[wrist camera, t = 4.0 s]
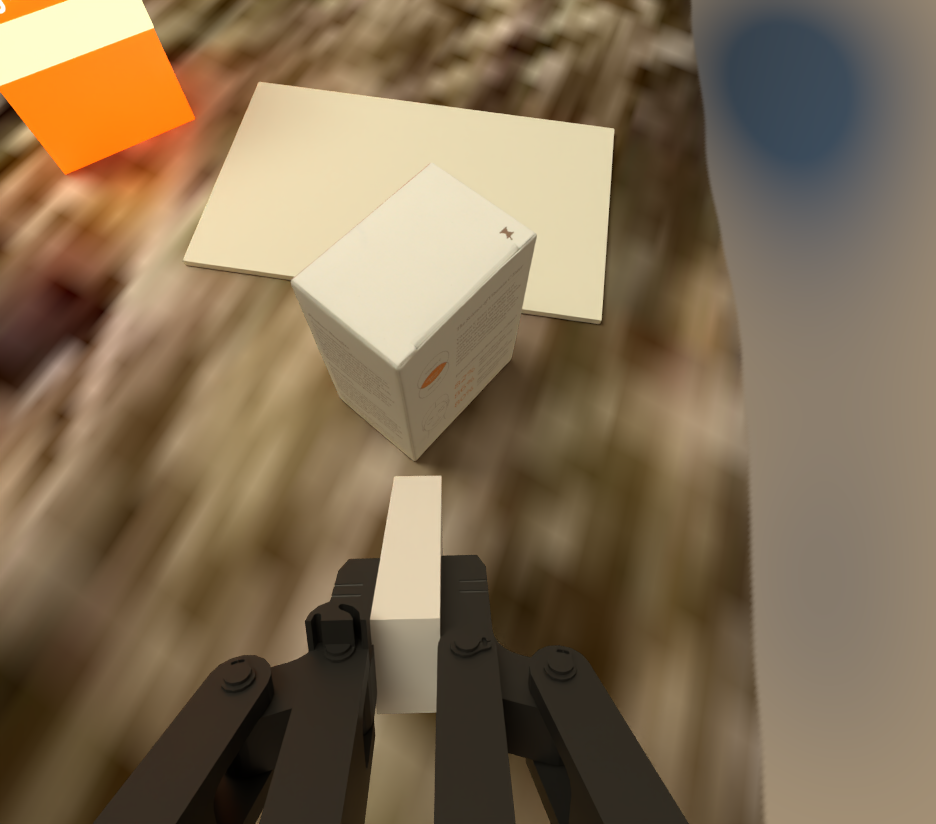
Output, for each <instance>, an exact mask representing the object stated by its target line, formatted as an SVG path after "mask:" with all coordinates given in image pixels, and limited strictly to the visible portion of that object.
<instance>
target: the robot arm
mask: <svg viewBox="0 0 936 824" xmlns="http://www.w3.org/2000/svg"><path fill="white" fill-rule="evenodd" d="M305 626H306V634H307V642H308V649H309V652H308V653H307V654H306V655H304V656H302V657H300V658H299V659H297V660H294V661H291V662H288V663H285V664H281V665H278V666H274V667H270V665H269V663H268V662H267V661H266V660H265V659H264V658H261V657H258V656H255V655H243V656H239V657H235V658H232V659H230V660H228V661H226V662H224V663H222V664H220V665H219V666H218V667H217V668H216V669H215V670H214V671H213V672H211V673H210V675H209V676H208V677H207V678H206V680H205V681H204V682H203V684H202V685H201V686H200V687H199V689H198V690H197V691H196V692H195V694H194V695H193V696H192V698H191V699H190V700H189V701H188V703H187V704H186V705H185V706H184V708H183V709H182V710H181V712H180V713H179V714H178V715H177V717H176V718H175V719H174V720H173V722H172V723H171V724H170V726H169V727H168V728H167V729H166V731H165V732H164V733H163V735H162V736H161V737H160V738H159V740H158V741H157V742H156V743H155V745H154V746H153V747H152V749H151V750H150V751H149V752H148V754H147V755H146V756H145V757H144V759H143V760H142V761H141V763H140V764H139V765H138V766H137V768H136V769H135V770H134V772H133V773H132V774H131V775H130V777H129V778H128V779H127V780H126V782H125V783H124V784H123V786H122V787H121V788H120V789H119V791H118V792H117V793H116V794H115V796H114V797H113V798H112V800H111V801H110V802H109V803H108V805H107V806H106V807H105V809H104V810H103V811H102V812H101V814H100V815H99V816H98V817H97V819H96V820H95V821H94V823H93V824H255V823H256V821H257V819H258V817H259V815H260V813H261V812H262V810H263V812H262V815H261V819H260V822H259V824H364V823H365V815H366V807H367V798H368V790H369V782H370V774H371V766H372V758H373V749H374V741H375V726H374V715H375V707H376V708H377V714H400V713H433V712H436V750H435V802H434V824H516V823H515V814H514V804H513V795H512V786H511V777H510V767H509V758H508V753H511V754H514V755H518V756H521V757H524V758H526V763H527V766H528V768H529V771H530V773H531V776H532V778H533V781H534V783H535V786H536V788H537V790H538V793H539V795H540V798H541V800H542V803H543V805H544V808H545V810H546V813H547V815H548V818H549V820H550V823H551V824H689V823H688V822H687V820H686V819H685V817H684V815H683V814H682V812H681V810H680V809H679V807H678V806H677V804H676V802H675V801H674V799H673V798H672V796H671V794H670V793H669V791H668V789H667V788H666V786H665V785H664V783H663V781H662V780H661V778H660V777H659V775H658V773H657V772H656V770H655V768H654V767H653V765H652V764H651V762H650V760H649V759H648V757H647V756H646V754H645V752H644V751H643V749H642V747H641V746H640V744H639V743H638V741H637V739H636V738H635V736H634V735H633V733H632V731H631V730H630V728H629V726H628V725H627V723H626V722H625V720H624V718H623V717H622V715H621V714H620V712H619V710H618V709H617V707H616V705H615V704H614V702H613V701H612V699H611V697H610V696H609V694H608V693H607V691H606V689H605V688H604V686H603V684H602V683H601V681H600V680H599V678H598V676H597V675H596V673H595V672H594V670H593V668H592V667H591V665H590V664H589V662H588V661H587V660H586V659H585V657H584V656H583V655H582V654H581V653H579V652H577V651H575V650H574V649H572V648H569V647H564V646H560V645H558V646H547V647H544V648H542V649H539V650H538V651H537V652H536V653H535V654H534V655H533V656H532V658H531V657H527V656H523V655H519V654H516V653H513V652H510V651H509V650H507V649H505V648H504V647H503V646H501V645H500V644H499V643H498V642H497V640H496V639H495V637H494V634H493V631H492V622H491V613H490V604H489V594H488V585H487V575H486V566H485V565H484V564H483V562H482V561H481V560H480V558H479V557H478V556H477V555H455V556H443V542H442V484H441V476H394V482H393V488H392V493H391V499H390V505H389V511H388V517H387V523H386V529H385V534H384V540H383V546H382V552H381V558H372V559H349V560H348V561H347V562H346V563H345V564H344V565H343V566H342V567H341V569H340V570H339V571H338V574H337V578H336V582H335V587H334V589H333V593H332V597H331V600H330V602H328V603H325V604H323V605H320V606H318V607H317V608H316V609H314V610H313V611H312V612H311V613H310V614H309V615H308V617H307V619H306V620H305Z"/></svg>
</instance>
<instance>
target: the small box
mask: <svg viewBox="0 0 936 824" xmlns="http://www.w3.org/2000/svg"><path fill="white" fill-rule="evenodd" d="M536 239H537V235H536V233H535V232H533V231H532V230H531V229H529V228H528V227H526V226H525V225H523V224H522V223H520V222H519V221H518V220H516V219H515V218H513V217H512V216H510V215H509V214H507V213H506V212H505V211H503V210H502V209H500V208H499V207H497V206H496V205H494V204H493V203H491V202H490V201H488V200H487V199H485V198H484V197H483V196H481V195H480V194H478V193H477V192H475V191H474V190H472V189H471V188H469V187H468V186H466V185H465V184H464V183H462V182H461V181H459V180H458V179H456V178H455V177H453V176H452V175H450V174H449V173H447V172H446V171H444V170H443V169H441V168H439V167H438V166H436V165H435V164H434V163H429V164H428V165H427V166H426V167H425V168H424V169H423V170H421V171H420V172H419V173H418V174H417V175H415V176H414V177H413V178H412V179H411V180H409V181H408V182H407V183H406V184H405V185H403V186H402V187H401V188H400V189H399V190H398V191H396V192H395V193H394V194H393V195H392V196H391V197H389V198H388V199H387V200H386V201H385V202H383V203H382V204H381V205H380V206H379V207H377V208H376V209H375V210H374V211H373V212H372V213H370V214H369V215H368V216H367V217H366V218H364V219H363V220H362V221H361V222H360V223H358V224H357V225H356V226H355V227H354V228H352V229H351V230H350V231H349V232H348V233H347V234H345V235H344V236H343V237H342V238H341V239H339V240H338V241H337V242H336V243H335V244H333V245H332V246H331V247H330V248H329V249H327V250H326V251H325V252H324V253H323V254H321V255H320V256H319V257H318V258H317V259H315V260H314V261H313V262H312V263H311V264H309V265H308V266H307V267H306V268H305V269H303V270H302V271H301V272H300V273H299V274H297V275H296V276H295V277H293V278H292V279H291V285H292V287H293V290H294V292H295V295H296V297H297V299H298V301H299V304H300V306H301V309H302V311H303V313H304V315H305V318H306V320H307V322H308V325H309V327H310V329H311V331H312V334H313V336H314V339H315V341H316V344H317V346H318V349H319V351H320V353H321V355H322V358H323V360H324V362H325V365H326V367H327V369H328V372H329V374H330V376H331V379H332V381H333V383H334V386H335V388H336V390H337V392H338V395H339V397H340V398H341V399H342V400H343V401H344V402H345V403H346V404H347V405H349V406H350V407H351V408H352V409H353V410H354V411H355V412H356V413H358V414H359V415H360V416H361V417H362V418H363V419H365V420H366V421H367V422H368V423H369V424H370V425H372V426H373V427H374V428H375V429H376V430H378V431H379V432H380V433H381V434H382V435H383V436H385V437H386V438H387V439H388V440H389V441H390V442H392V443H393V444H394V445H395V446H396V447H397V448H399V449H400V450H401V451H402V452H403V453H405V454H406V455H407V456H408V457H410V458H411V459H412V460H413V461H416V460H417V459H418V458H419V457H420V456H421V455H422V454H423V453H424V452H425V451H426V450H427V448H428V447H429V446H430V445H431V444H432V443H433V442H434V441H435V440H436V439H437V438H438V437H439V436H440V434H441V433H442V432H443V431H444V430H445V429H446V428H447V427H448V426H449V425H450V424H451V423H452V422H453V421H454V420H455V419H456V417H457V416H458V415H459V414H460V413H461V412H462V411H463V410H464V409H465V408H466V407H467V406H468V405H469V404H470V403H471V402H472V400H473V399H474V398H475V397H476V396H477V395H478V394H479V393H480V392H481V391H482V390H483V389H484V388H485V386H486V385H487V384H488V383H489V382H490V381H491V380H492V379H493V378H494V377H495V376H496V375H497V374H498V373H499V372H500V370H501V369H502V368H503V367H504V366H505V365H506V364H507V363H508V362H509V361H510V360H511V359H512V355H513V350H514V345H515V341H516V336H517V331H518V326H519V321H520V317H521V312H522V307H523V302H524V297H525V292H526V287H527V282H528V276H529V271H530V267H531V262H532V257H533V253H534V247H535V243H536Z"/></svg>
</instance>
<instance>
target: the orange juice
mask: <svg viewBox="0 0 936 824" xmlns="http://www.w3.org/2000/svg"><path fill="white" fill-rule="evenodd" d="M0 92H1V93H2V94H3V96H4V97H5V98H6V100H7V101H8V102H9V103H10V105H11V106H12V107H13V108H14V110H15V111H16V112H17V114H18V115H19V116H20V117H21V119H22V120H23V121H24V123H25V124H26V125H27V126H28V128H29V129H30V130H31V132H32V133H33V134H34V135H35V137H36V138H37V139H38V140H39V142H40V143H41V144H42V146H43V147H44V148H45V149H46V151H47V152H48V153H49V155H50V156H51V157H52V158H53V160H54V161H55V162H56V164H57V165H58V166H59V167H60V169H61V170H62V171H63V172H64V174H65V175H66V174H68V173H71V172H73V171H75V170H78V169H80V168H82V167H85V166H87V165H89V164H92V163H94V162H96V161H99V160H101V159H103V158H106V157H108V156H110V155H113V154H115V153H117V152H120V151H122V150H124V149H127V148H129V147H131V146H134V145H136V144H138V143H141V142H143V141H145V140H148V139H150V138H152V137H155V136H157V135H159V134H162V133H164V132H166V131H169V130H171V129H173V128H176V127H178V126H180V125H183V124H185V123H187V122H190V121H192V120H194V119H195V117H194V115H193V112H192V110H191V108H190V106H189V104H188V102H187V99H186V97H185V95H184V93H183V91H182V89H181V87H180V84H179V82H178V80H177V78H176V76H175V74H174V71H173V69H172V67H171V65H170V63H169V61H168V58H167V56H166V54H165V52H164V50H163V48H162V45H161V43H160V41H159V39H158V37H157V35H156V33H155V30H154V26H153V24H152V22H151V20H150V17H149V15H148V13H147V11H146V9H145V7H144V5H143V2H142V0H0Z"/></svg>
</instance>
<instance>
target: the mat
mask: <svg viewBox="0 0 936 824" xmlns="http://www.w3.org/2000/svg"><path fill="white" fill-rule="evenodd" d="M613 141H614V129H612V128H605V127H597V126H590V125H582V124H575V123H567V122H560V121H552V120H544V119H537V118H529V117H522V116H514V115H507V114H499V113H491V112H484V111H476V110H469V109H461V108H454V107H446V106H438V105H431V104H423V103H416V102H408V101H401V100H393V99H386V98H378V97H370V96H363V95H355V94H348V93H340V92H333V91H325V90H317V89H310V88H302V87H295V86H287V85H280V84H272V83H265V82H259V83H258V85H257V87H256V90H255V92H254V94H253V97H252V99H251V101H250V104H249V106H248V109H247V111H246V113H245V116H244V118H243V120H242V123H241V125H240V127H239V130H238V132H237V134H236V137H235V139H234V141H233V144H232V146H231V148H230V151H229V153H228V155H227V158H226V160H225V162H224V165H223V167H222V170H221V172H220V174H219V177H218V179H217V181H216V184H215V186H214V188H213V191H212V193H211V195H210V198H209V200H208V202H207V205H206V207H205V209H204V212H203V214H202V216H201V219H200V221H199V223H198V226H197V228H196V231H195V233H194V235H193V238H192V240H191V242H190V245H189V247H188V249H187V252H186V254H185V256H184V259H183V262H184V263H185V265H189V266H196V267H203V268H210V269H217V270H224V271H231V272H238V273H245V274H252V275H259V276H266V277H273V278H280V279H287V280H291V279H292V278H293V277H295V276H296V275H297V274H299V273H300V272H301V271H302V270H303V269H305V268H306V267H307V266H308V265H309V264H311V263H312V262H313V261H314V260H315V259H317V258H318V257H319V256H320V255H321V254H323V253H324V252H325V251H326V250H327V249H329V248H330V247H331V246H332V245H333V244H335V243H336V242H337V241H338V240H339V239H341V238H342V237H343V236H344V235H345V234H347V233H348V232H349V231H350V230H351V229H352V228H354V227H355V226H356V225H357V224H358V223H360V222H361V221H362V220H363V219H364V218H366V217H367V216H368V215H369V214H370V213H372V212H373V211H374V210H375V209H376V208H377V207H379V206H380V205H381V204H382V203H383V202H385V201H386V200H387V199H388V198H389V197H391V196H392V195H393V194H394V193H395V192H396V191H398V190H399V189H400V188H401V187H402V186H403V185H405V184H406V183H407V182H408V181H409V180H411V179H412V178H413V177H414V176H415V175H417V174H418V173H419V172H420V171H421V170H423V169H424V168H425V167H426V166H427V165H428V164H429V163H434V164H435V165H436V166H438V167H439V168H441V169H443V170H444V171H446V172H447V173H449V174H450V175H452V176H453V177H455V178H456V179H458V180H459V181H461V182H462V183H464V184H465V185H466V186H468V187H469V188H471V189H472V190H474V191H475V192H477V193H478V194H480V195H481V196H483V197H484V198H485V199H487V200H488V201H490V202H491V203H493V204H494V205H496V206H497V207H499V208H500V209H502V210H503V211H505V212H506V213H507V214H509V215H510V216H512V217H513V218H515V219H516V220H518V221H519V222H520V223H522V224H523V225H525V226H526V227H528V228H529V229H531V230H532V231H533V232H535V233H536V235H537V239H536V243H535V247H534V253H533V257H532V262H531V267H530V271H529V276H528V282H527V287H526V292H525V297H524V302H523V307H522V312H521V313H525V314H532V315H539V316H546V317H553V318H560V319H567V320H574V321H581V322H588V323H595V324H600V323H601V320H602V306H603V291H604V276H605V261H606V246H607V231H608V216H609V201H610V186H611V171H612V156H613Z"/></svg>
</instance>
